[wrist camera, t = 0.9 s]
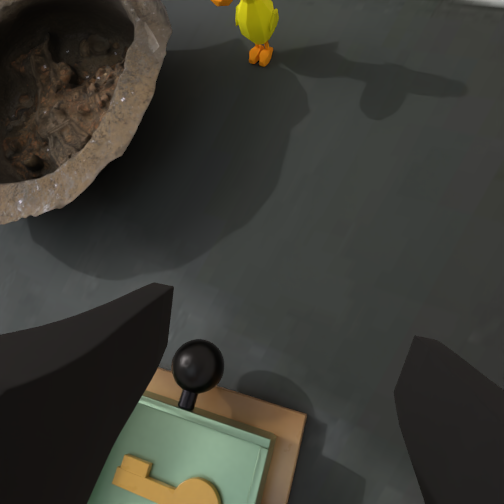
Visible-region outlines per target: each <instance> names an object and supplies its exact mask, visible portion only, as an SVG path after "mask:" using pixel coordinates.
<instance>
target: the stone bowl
mask: <svg viewBox="0 0 504 504" xmlns="http://www.w3.org/2000/svg"><path fill="white" fill-rule="evenodd" d="M171 34H172V28H171V25H170V21H169V18H168V14H167V11H166V8H165V6H164V5H163V3H162V2H161V0H0V224H6V223H9V222H12V221H18V220H19V219H20V218H21V217H23V218H26V217H28V216H30V215H32V216H35V217H36V216H38V215H41V214H43V213H44V212H48V211H50V210H53V209H55V208H57V209H61V208H63V207H64V206H65V205H66V204H68V203H70V202H72V201H73V200H74V199H75V198H76V197H77V196H78V195H80V194H81V193H82V192H83V191H84V190H85V189H86V188H87V187H88V186H89V185H90V184H91V183H92V182H93V181H94V179H95V178H96V176H97V175H98V174H99V173H100V172H101V171H102V170H103V169H104V168H105V167H106V166H107V165H108V164H109V163H110V162H111V161H112V160H114V159H116V158H117V157H120V156H122V155H123V153H124V151H125V150H126V148H127V147H128V145H129V143H130V141H131V140H132V138H133V136H134V134H135V132H136V130H137V128H138V125H139V123H140V121H141V120H142V117H143V114H144V112H145V111H146V109H147V108H148V106H149V103H150V101H151V99H152V97H153V95H154V91H155V84H156V80H157V77H158V74H159V71H160V69H161V66H162V62H163V59H164V57H165V55H166V54H167V53H166V51H165V49H166V45H167V41H168V39H169V37H170V35H171Z"/></svg>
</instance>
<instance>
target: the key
mask: <svg viewBox="0 0 504 504" xmlns="http://www.w3.org/2000/svg"><path fill="white" fill-rule="evenodd" d="M151 467H152V463H151V462H148V461H146V460H143V459H141V458H138V457H136V456H133V455H131V454H125V455H124V458H123V461H122V464H121V466H118V467H117V469H116V472H115V475H114V478H113V481H112V484H113V485H116V486H118V487H120V488H123V489H125V490H127V491H130V492H132V493H134V494H137V495H139V496H141V497H144V498H146V499H148V500H151V501H153V502H155V503H158V504H221V499H220V496H219V493H218V491H217V489H216V488H215V486H214V485H213V484H212V483H211V482H209V481H208V480H206V479H204V478H200V477H193V478H189V479H187V480H185V481H183V482H182V483H181V484H180V485H178V487H177V488H176V487H173V486H171V485H168V484H166V483H164V482H161V481H159V480H156V479H154V478H151V477H149V474H150V470H151Z"/></svg>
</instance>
